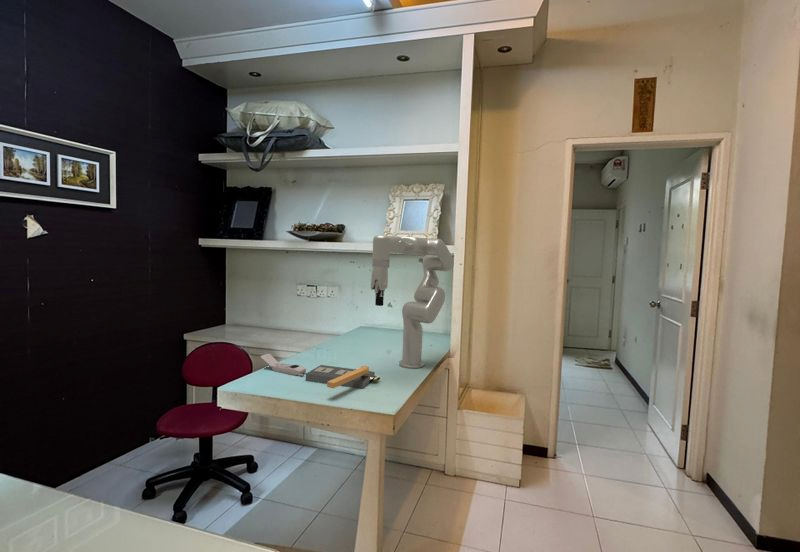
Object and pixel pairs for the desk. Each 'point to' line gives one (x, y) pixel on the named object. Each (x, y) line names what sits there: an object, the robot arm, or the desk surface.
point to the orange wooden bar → (348, 377)
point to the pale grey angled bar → (283, 366)
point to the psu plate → (331, 372)
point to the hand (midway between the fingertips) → (379, 305)
